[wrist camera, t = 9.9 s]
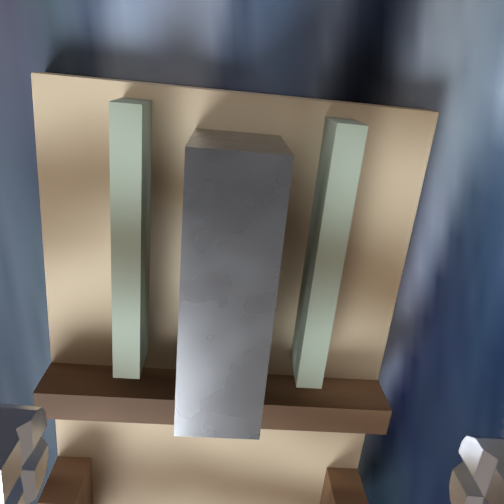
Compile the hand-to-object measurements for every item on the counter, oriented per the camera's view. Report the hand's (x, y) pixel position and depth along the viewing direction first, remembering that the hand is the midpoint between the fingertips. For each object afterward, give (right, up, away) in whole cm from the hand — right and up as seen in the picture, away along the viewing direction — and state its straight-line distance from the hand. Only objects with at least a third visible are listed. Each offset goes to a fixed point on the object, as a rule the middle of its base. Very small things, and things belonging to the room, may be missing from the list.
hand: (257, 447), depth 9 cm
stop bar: (-1, +3, +9) cm, 10 cm away
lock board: (-2, -1, +12) cm, 13 cm away
